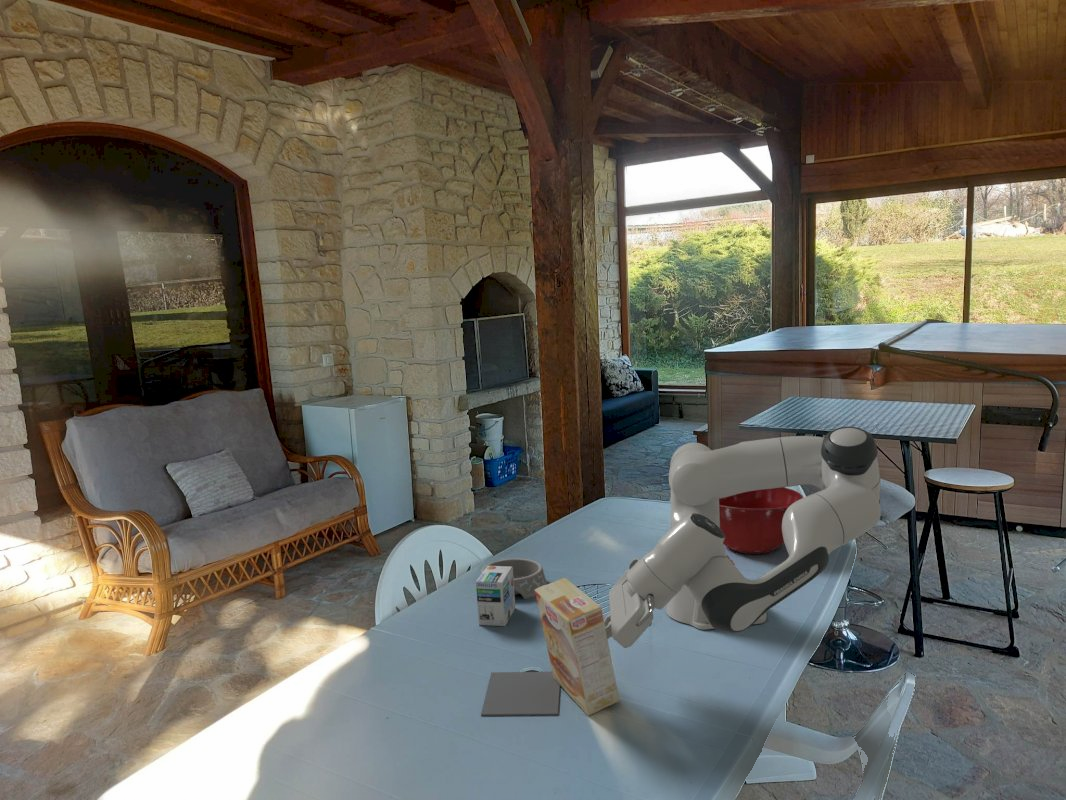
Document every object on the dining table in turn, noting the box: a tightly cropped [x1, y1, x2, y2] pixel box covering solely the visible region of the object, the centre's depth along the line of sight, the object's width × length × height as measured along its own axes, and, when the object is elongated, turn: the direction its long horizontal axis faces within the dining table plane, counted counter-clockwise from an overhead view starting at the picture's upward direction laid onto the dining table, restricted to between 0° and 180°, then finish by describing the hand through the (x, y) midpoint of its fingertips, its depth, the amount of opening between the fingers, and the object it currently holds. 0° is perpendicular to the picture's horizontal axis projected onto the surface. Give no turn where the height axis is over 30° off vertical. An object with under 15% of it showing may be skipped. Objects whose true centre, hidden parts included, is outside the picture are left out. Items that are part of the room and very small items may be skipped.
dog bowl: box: [479, 557, 548, 600], centre depth 193 cm, size 17×18×5 cm
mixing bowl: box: [719, 487, 804, 555], centre depth 213 cm, size 28×28×16 cm
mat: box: [480, 671, 561, 717], centre depth 141 cm, size 14×15×1 cm
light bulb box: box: [475, 566, 516, 627], centre depth 175 cm, size 11×7×11 cm, turn 168°
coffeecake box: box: [534, 577, 620, 716], centre depth 137 cm, size 15×7×20 cm, turn 23°
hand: (599, 637), depth 137 cm, fingers closed
